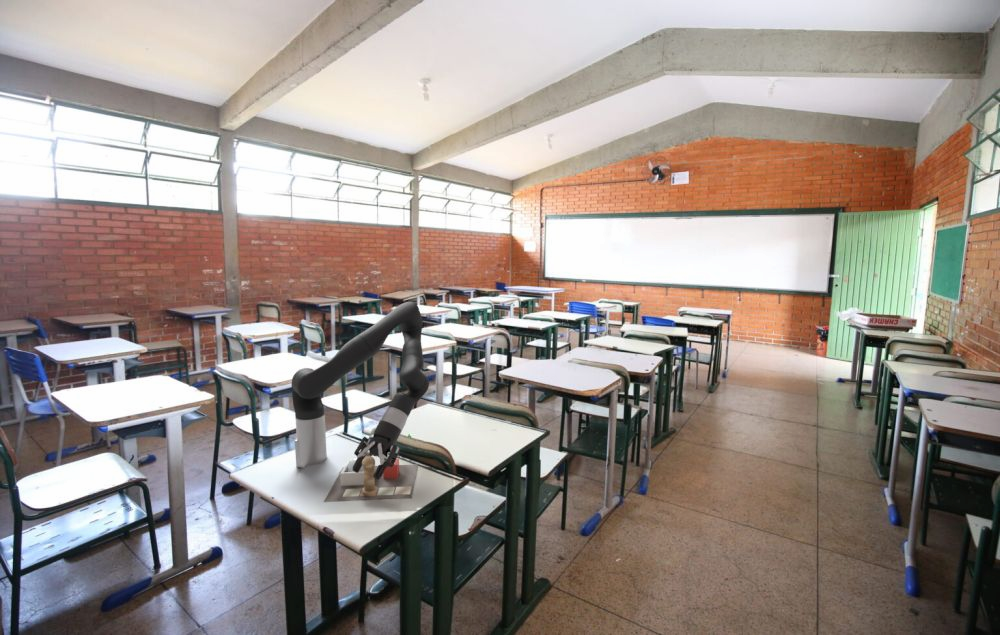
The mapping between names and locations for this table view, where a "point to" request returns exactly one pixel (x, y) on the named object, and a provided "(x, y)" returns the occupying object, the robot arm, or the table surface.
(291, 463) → the table surface
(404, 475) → the board
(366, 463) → the pawn
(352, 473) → the housing
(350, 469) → the white ball
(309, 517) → the table surface
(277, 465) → the table surface
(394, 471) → the die
